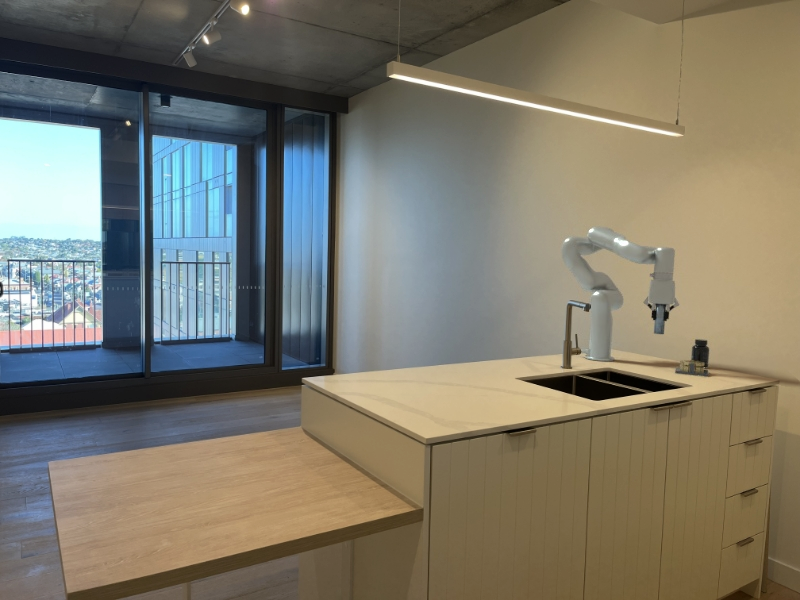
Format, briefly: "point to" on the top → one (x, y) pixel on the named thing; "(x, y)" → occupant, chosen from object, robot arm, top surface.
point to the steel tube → (659, 318)
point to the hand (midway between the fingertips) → (659, 320)
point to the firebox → (691, 368)
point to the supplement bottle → (700, 351)
